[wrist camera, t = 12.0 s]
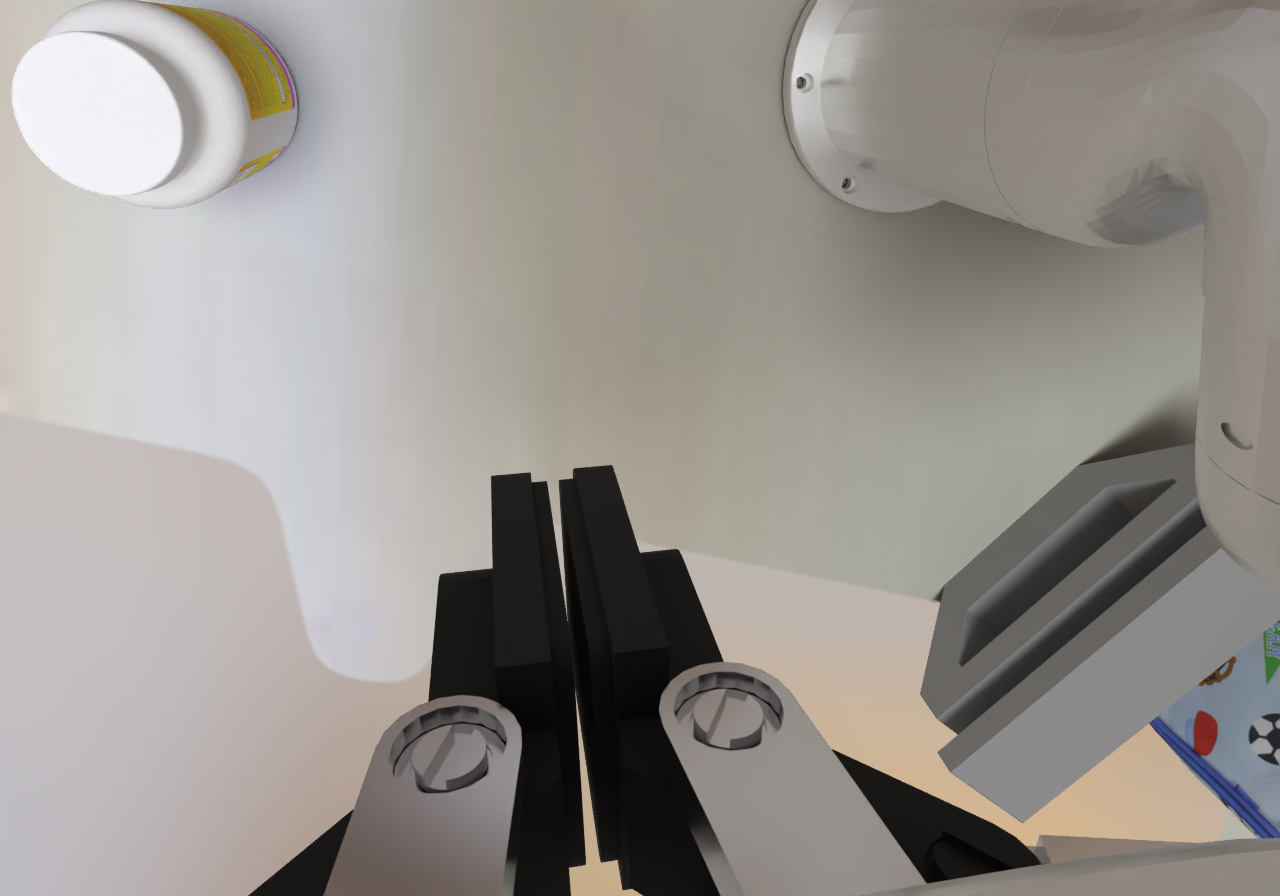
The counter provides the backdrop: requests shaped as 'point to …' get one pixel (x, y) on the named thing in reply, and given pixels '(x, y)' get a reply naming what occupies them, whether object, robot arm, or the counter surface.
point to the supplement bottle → (153, 101)
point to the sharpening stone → (1085, 627)
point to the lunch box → (1235, 733)
